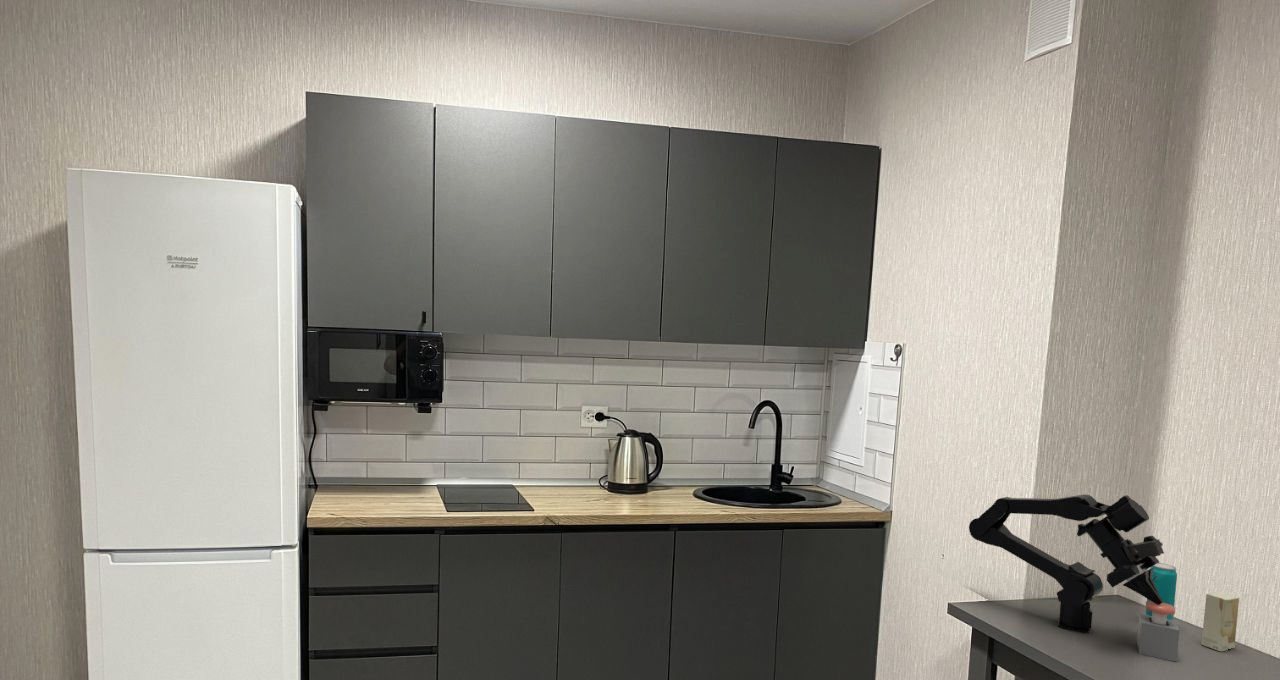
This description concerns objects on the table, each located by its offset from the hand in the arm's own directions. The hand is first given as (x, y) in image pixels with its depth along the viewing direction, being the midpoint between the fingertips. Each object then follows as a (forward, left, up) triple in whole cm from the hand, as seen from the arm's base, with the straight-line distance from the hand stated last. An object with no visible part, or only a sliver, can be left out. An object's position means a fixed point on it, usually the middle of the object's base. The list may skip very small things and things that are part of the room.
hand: (1160, 603), depth 180 cm
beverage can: (+2, +22, -11) cm, 25 cm away
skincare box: (+13, +14, -11) cm, 22 cm away
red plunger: (0, 0, -8) cm, 8 cm away
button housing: (0, 0, -11) cm, 11 cm away
